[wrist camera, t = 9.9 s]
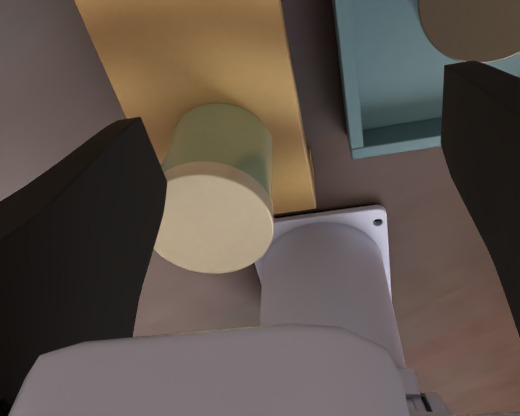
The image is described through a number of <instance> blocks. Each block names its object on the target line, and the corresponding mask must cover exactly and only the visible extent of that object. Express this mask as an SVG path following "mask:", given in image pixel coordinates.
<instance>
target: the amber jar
mask: <svg viewBox="0 0 520 416" xmlns="http://www.w3.org/2000/svg"><path fill="white" fill-rule="evenodd" d="M407 2H408V3H409V5H410V6H411V8H412V10H413V11H414V13H415V15H416V18H417V21H418V24H419V26H420V28H421V29H422V31H423V33H424V34H425V36H426V38H427V39H428V41H429V42H430V43H431V44H432V45H433V47H434V48H436V49H437V50H438V51H439V52H440V53H442V54H443V55H445V56H447V57H449V58H451V59H453V60H456V61H460V62H466V61H472V60H474V61H478V62H481V63H492V62H496V61H500V60H504V59H507V58H510V57H512V56H514V55H517V54H519V53H520V0H407Z"/></svg>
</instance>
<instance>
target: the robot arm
mask: <svg viewBox="0 0 520 416" xmlns="http://www.w3.org/2000/svg"><path fill="white" fill-rule="evenodd" d="M441 146H442V149H443V153H444V156H445V159H446V162H447V165H448V168H449V171H450V174H451V177H452V179H453V181H454V183H455V185H456V187H457V189H458V191H459V193H460V195H461V197H462V199H463V201H464V203H465V205H466V207H467V209H468V211H469V213H470V215H471V217H472V219H473V221H474V223H475V225H476V227H477V229H478V231H479V233H480V235H481V237H482V239H483V241H484V243H485V245H486V247H487V249H488V251H489V253H490V255H491V258H492V260H493V262H494V265H495V267H496V270H497V273H498V276H499V278H500V281H501V284H502V287H503V289H504V292H505V295H506V298H507V301H508V304H509V307H510V310H511V313H512V316H513V319H514V322H515V325H516V328H517V331H518V334H519V337H520V78H519V77H517V76H514V75H512V74H509V73H507V72H505V71H502V70H500V69H497V68H495V67H492V66H490V65H487V64H484V63H481V62H478V61H474V60H472V61H466V62H460V63H454V64H448V65H444V81H443V102H442V124H441ZM167 183H168V182H167V180H166V177H165V175H164V172H163V170H162V168H161V165H160V163H159V160H158V158H157V155H156V153H155V150H154V148H153V146H152V143H151V141H150V138H149V136H148V133H147V131H146V128H145V126H144V124H143V121H142V119H141V117H135V118H129V119H123V120H118V121H116V122H114V123H112V124H110V125H109V126H107V127H105V128H104V129H102V130H101V131H100V132H98V133H97V134H96V135H94V136H93V137H91V138H90V139H89V140H87V141H86V142H85V143H84V144H82V145H81V146H80V147H78V148H77V149H76V150H74V151H73V152H72V153H70V154H69V155H68V156H66V157H65V158H64V159H63V160H61V161H60V162H59V163H57V164H56V165H54V166H53V167H51V168H50V169H49V170H47V171H46V172H44V173H43V174H42V175H40V176H39V177H37V178H36V179H35V180H33V181H32V182H30V183H29V184H27V185H26V186H24V187H23V188H21V189H20V190H18V191H17V192H15V193H14V194H12V195H10V196H9V197H7V198H5V199H4V200H2V201H0V416H520V412H513V413H495V414H477V415H456V413H455V412H454V410H453V409H452V408H451V407H450V406H449V405H448V404H447V403H446V402H444V401H443V400H442V398H441V397H440V396H439V395H438V394H437V393H435V392H427V393H421V394H420V389H419V385H418V381H417V377H416V372H415V370H414V369H406V364H405V360H404V355H403V350H402V346H401V341H400V337H399V332H398V328H397V323H396V318H395V314H394V309H393V305H392V296H391V279H390V262H389V246H388V229H387V214H386V210H385V208H384V207H383V206H381V205H371V206H363V207H356V208H349V209H341V210H334V211H326V212H319V213H312V214H304V215H297V216H289V217H282V218H275V219H274V234H273V239H272V241H271V244H270V246H269V248H268V249H267V251H266V252H265V253H264V254H263V256H262V257H260V258H259V259H258V260H257V261H256V262H254V263H255V266H256V269H257V272H258V275H259V279H260V282H261V285H262V290H261V310H260V326H253V327H242V328H231V329H220V330H209V331H198V332H186V333H175V334H164V335H153V336H142V337H133V330H134V325H135V319H136V313H137V307H138V302H139V297H140V293H141V289H142V285H143V282H144V279H145V275H146V272H147V269H148V265H149V262H150V259H151V255H152V252H153V249H154V246H155V242H156V239H157V235H158V232H159V229H160V225H161V222H162V218H163V214H164V207H165V201H166V192H167ZM376 219H381V220H380V221H374V220H376Z"/></svg>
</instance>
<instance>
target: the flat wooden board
mask: <svg viewBox="0 0 520 416" xmlns="http://www.w3.org/2000/svg"><path fill="white" fill-rule="evenodd" d="M74 1H75V3H76V6H77V8H78V10H79V12H80V15H81V17H82V19H83V21H84V24H85V26H86V28H87V30H88V33H89V35H90V37H91V39H92V42H93V44H94V46H95V48H96V51H97V53H98V55H99V57H100V60H101V62H102V64H103V66H104V69H105V71H106V73H107V75H108V78H109V80H110V82H111V84H112V87H113V89H114V91H115V93H116V96H117V98H118V100H119V102H120V105H121V107H122V109H123V111H124V114H125V116H126V118H127V119H129V118H135V117H141V119H142V121H143V124H144V126H145V128H146V131H147V133H148V136H149V138H150V141H151V143H152V146H153V148H154V150H155V153H156V155H157V158H158V160H159V163H160V164H161V161H162V159H163V156H164V153H165V150H166V147H167V145H168V142H169V139H170V136H171V133H172V131H173V128H174V126H175V124H176V123H177V122H178V120H179V119H180V118H181V117H182V116H183V115H184V114H186V113H187V112H188V111H190V110H192V109H194V108H196V107H198V106H201V105H205V104H211V103H225V104H231V105H235V106H238V107H241V108H243V109H245V110H247V111H249V112H251V113H252V114H254V115H255V116H256V117H257V118H258V119H260V120H261V122H262V123H263V124H264V125H265V126H266V128H267V129H268V131H269V133H270V135H271V138H272V141H273V147H274V159H273V187H272V204H273V208H274V214H279V213H287V212H294V211H301V210H308V209H315V208H316V207H317V206H316V192H315V180H314V167H313V161H312V155H311V149H310V148H307V144H306V139H305V133H304V127H303V122H302V116H301V111H300V105H299V100H298V94H297V88H296V83H295V77H294V72H293V66H292V60H291V55H290V49H289V44H288V38H287V33H286V27H285V21H284V16H283V10H282V5H281V0H74Z"/></svg>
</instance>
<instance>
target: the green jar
mask: <svg viewBox="0 0 520 416" xmlns="http://www.w3.org/2000/svg"><path fill="white" fill-rule="evenodd" d="M273 159H274V147H273V141H272V138H271V135H270V133H269V131H268V129H267V128H266V126H265V125H264V124H263V123H262V122H261V120H260V119H258V118H257V117H256V116H255V115H254V114H252V113H251V112H249V111H247V110H245V109H243V108H241V107H238V106H235V105H231V104H225V103H211V104H205V105H201V106H198V107H196V108H194V109H192V110H190V111H188V112H187V113H186V114H184V115H183V116H182V117H181V118H180V119H179V120H178V122H177V123H176V124H175V126H174V128H173V131H172V133H171V136H170V139H169V142H168V145H167V147H166V150H165V153H164V156H163V159H162V161H161V164H160V165H161V168H162V170H163V172H164V175H165V177H166V180H167V182H168V183H167V192H166V201H165V207H164V214H163V218H162V222H161V225H160V229H159V232H158V235H157V239H156V242H155V246H154V250H155V251H156V252H157V253H158V254H159V255H161V256H162V257H163V258H165V259H166V260H168V261H169V262H171V263H173V264H175V265H177V266H179V267H182V268H185V269H188V270H191V271H196V272H201V273H216V274H217V273H227V272H233V271H236V270H240V269H242V268H245V267H247V266H249V265H251V264H253V263H254V262H256V261H257V260H258V259H259V258H260V257H262V256H263V254H264V253H265V252H266V251H267V249H268V248H269V246H270V244H271V241H272V239H273V234H274V208H273V204H272V187H273Z"/></svg>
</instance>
